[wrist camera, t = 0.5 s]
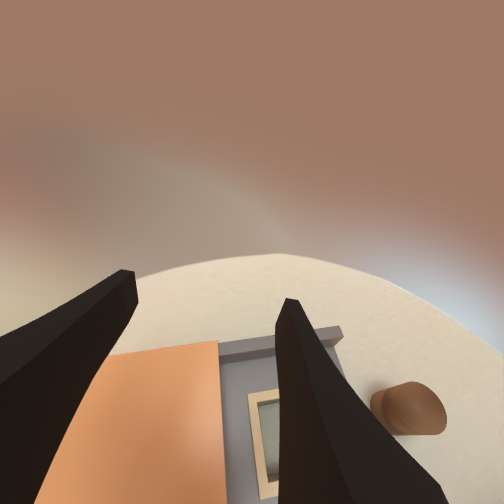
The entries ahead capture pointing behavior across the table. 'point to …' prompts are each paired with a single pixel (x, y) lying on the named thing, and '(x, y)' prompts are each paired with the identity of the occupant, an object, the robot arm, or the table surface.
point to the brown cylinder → (409, 410)
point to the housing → (253, 412)
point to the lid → (145, 433)
